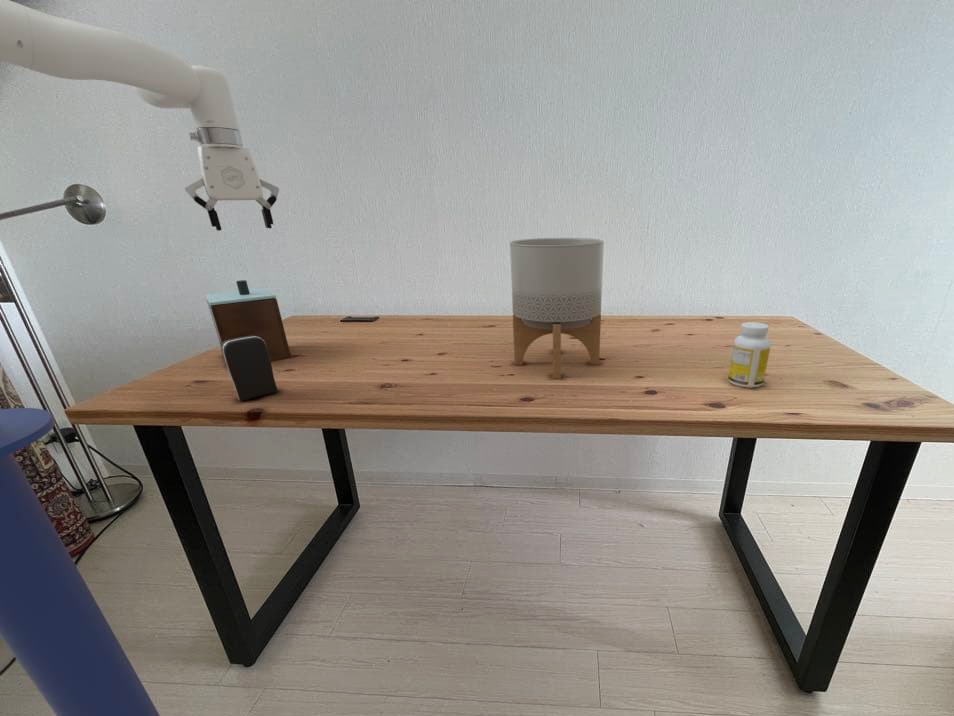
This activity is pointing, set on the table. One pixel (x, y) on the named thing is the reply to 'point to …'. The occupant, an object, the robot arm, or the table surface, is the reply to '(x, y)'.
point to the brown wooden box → (252, 324)
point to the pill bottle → (750, 355)
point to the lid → (239, 295)
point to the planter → (556, 293)
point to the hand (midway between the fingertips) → (244, 229)
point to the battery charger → (249, 367)
